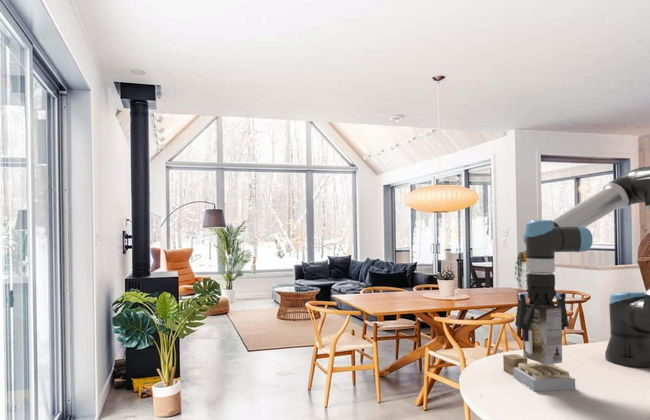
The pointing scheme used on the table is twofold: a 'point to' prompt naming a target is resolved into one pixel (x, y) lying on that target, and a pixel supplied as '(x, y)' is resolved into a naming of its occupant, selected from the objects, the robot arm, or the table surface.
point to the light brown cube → (512, 362)
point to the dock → (544, 382)
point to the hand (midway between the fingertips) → (542, 351)
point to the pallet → (543, 370)
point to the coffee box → (545, 334)
